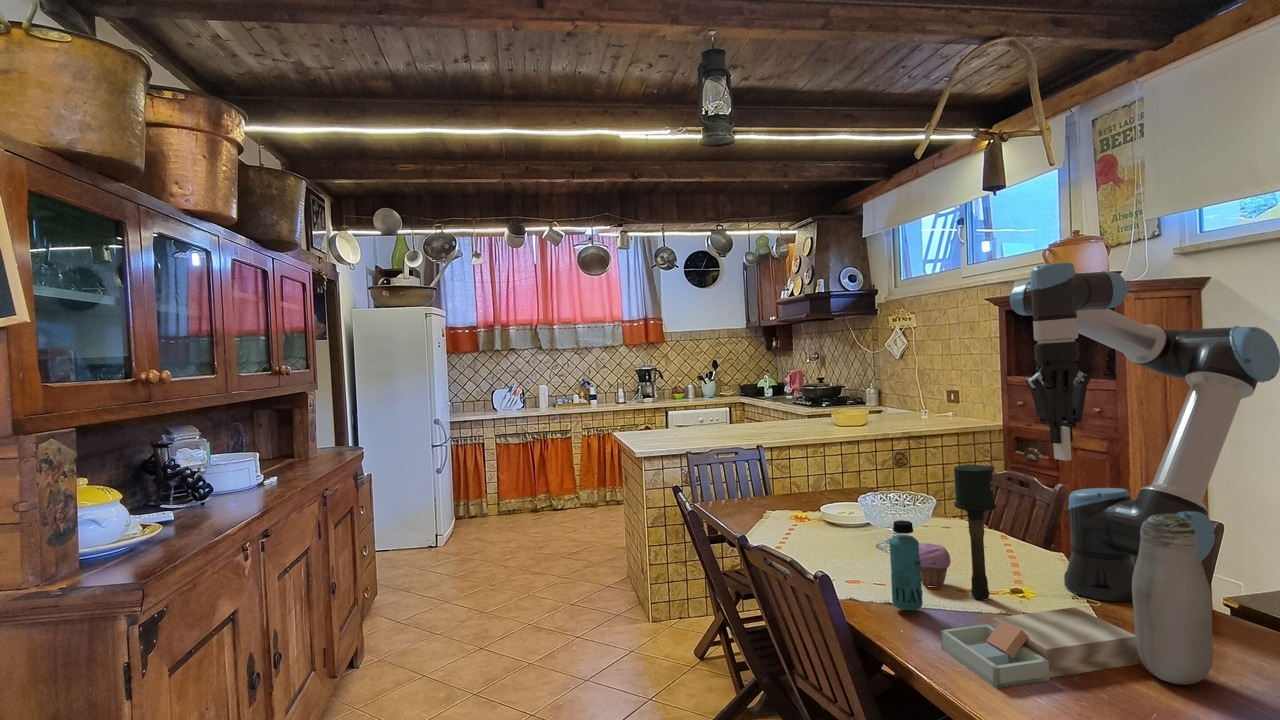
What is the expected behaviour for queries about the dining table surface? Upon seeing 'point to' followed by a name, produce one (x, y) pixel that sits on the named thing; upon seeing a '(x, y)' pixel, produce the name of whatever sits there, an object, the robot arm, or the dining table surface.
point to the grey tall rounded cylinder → (1172, 602)
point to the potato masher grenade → (975, 516)
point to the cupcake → (933, 564)
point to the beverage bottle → (905, 568)
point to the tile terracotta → (1007, 638)
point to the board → (1075, 640)
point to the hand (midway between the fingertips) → (1062, 459)
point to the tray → (1016, 672)
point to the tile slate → (991, 653)
